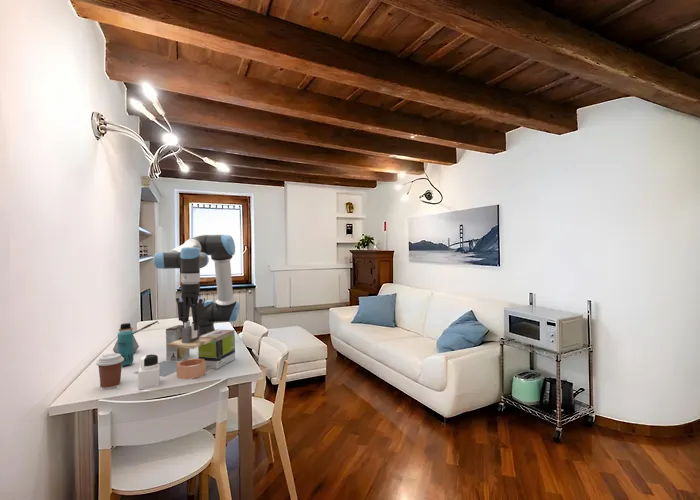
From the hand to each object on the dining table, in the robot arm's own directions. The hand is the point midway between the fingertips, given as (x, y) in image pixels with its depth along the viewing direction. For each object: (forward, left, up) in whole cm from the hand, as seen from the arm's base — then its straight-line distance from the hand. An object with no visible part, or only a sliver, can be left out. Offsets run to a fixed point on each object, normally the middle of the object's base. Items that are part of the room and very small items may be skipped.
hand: (190, 337), depth 149 cm
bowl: (0, 0, -16) cm, 16 cm away
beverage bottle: (-2, -38, -17) cm, 41 cm away
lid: (0, 0, -3) cm, 3 cm away
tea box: (-16, +1, -17) cm, 23 cm away
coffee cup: (+18, -23, -17) cm, 34 cm away
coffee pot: (-23, -54, -17) cm, 61 cm away
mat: (-3, -17, -16) cm, 24 cm away
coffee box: (-17, -22, -17) cm, 32 cm away
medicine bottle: (+14, -8, -17) cm, 23 cm away
